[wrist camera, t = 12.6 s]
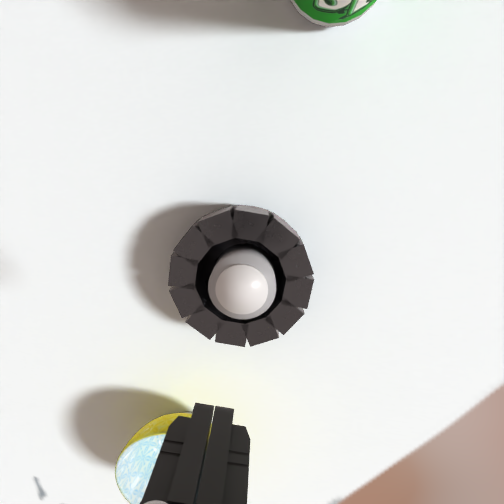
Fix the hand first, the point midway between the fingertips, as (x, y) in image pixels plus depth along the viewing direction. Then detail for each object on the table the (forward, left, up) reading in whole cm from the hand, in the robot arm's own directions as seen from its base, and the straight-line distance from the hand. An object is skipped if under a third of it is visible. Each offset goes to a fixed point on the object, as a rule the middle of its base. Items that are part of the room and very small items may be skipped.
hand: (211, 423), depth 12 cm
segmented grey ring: (0, 0, -19) cm, 19 cm away
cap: (0, 0, -18) cm, 18 cm away
